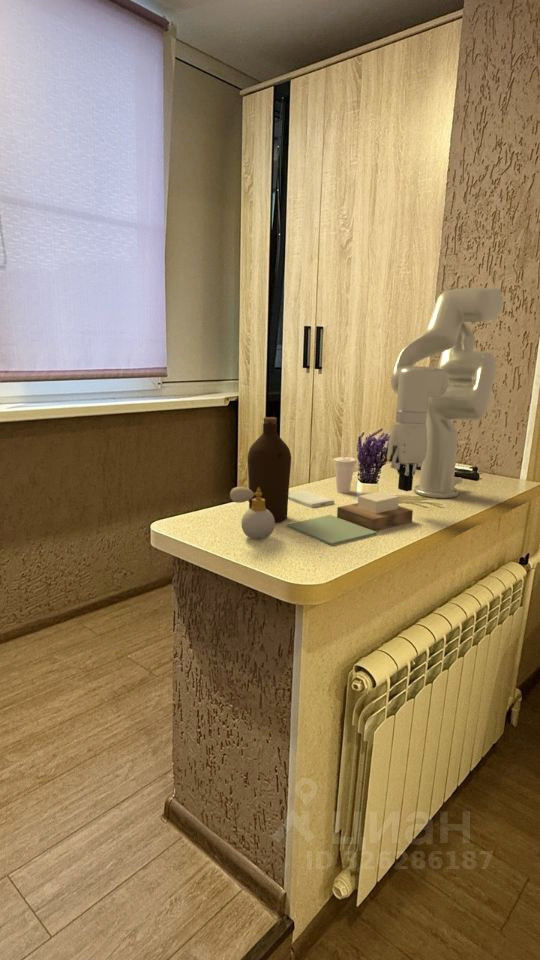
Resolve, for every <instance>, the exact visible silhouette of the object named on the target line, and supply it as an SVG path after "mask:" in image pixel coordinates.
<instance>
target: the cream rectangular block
mask: <svg viewBox="0 0 540 960" xmlns="http://www.w3.org/2000/svg"><path fill="white" fill-rule="evenodd" d="M399 499H400V496H397V495H394V494H390V493H387V492H384V491H377V492H373V493H366V494H361V495H358V498H357V503H358V508H360V509H363V510H366V511H369V512H372V513H375V514H376V513H380V512H385V511H389V510H394V509H398V506H399V503H400V502H399Z"/></svg>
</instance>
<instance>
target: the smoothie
mask: <svg viewBox="0 0 540 960" xmlns="http://www.w3.org/2000/svg"><path fill="white" fill-rule="evenodd" d="M342 448H343V449H342V456H339V457H334V458H333V463H334V469H335V470H334V471H335V472H334V473H335V483H336V492H337V493H340V494H349V493H350V492H351V485H352V480H353V474H354V469H355V464H356V463H357V462H356V460H357V459H356V458H354V457H350V456H349V457H347V456H346V444H343V447H342Z"/></svg>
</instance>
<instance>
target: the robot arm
mask: <svg viewBox="0 0 540 960" xmlns="http://www.w3.org/2000/svg"><path fill="white" fill-rule="evenodd" d="M503 306H504V296H503V294H502V291H501V290H500V289H499V288H497V287H483V288H482V287H479V288H474V287H472V288H471V287H469V288H455V289H450V290H446V291H443V292H442V293H440V295H439V296H438V297H437V299H436V301H435V304H434V307H433V310H432V312H431V313H430V314H431V315H430V318H429V320H428V322H427V326H426V329H425V332H423V333H422V334H420V335H419V336H417V337H416V338H414V339H413V340H412V341H410V342H409V343H408V344H407V345H405V347H404V348H403V349H402V350H401V352H400V353H399V354H398V356H397V359H396V360H395V361H396V362H395V364H394V368H392V369H393V370H392V373H391V376H390V386H391V389H392V391H393V392H394V393H395V394H397V399H396V410H395V412H396V413H395V422H394V423H393V424H392V427H391V431H390V435H389V441H388V446H387V454H386V455H387V457H386V458H387V459H386V460H387V461H388V462H390V468H391V469H394V470H396V471H397V475H399V476H398V483H397V486H398V487H397V488H398V490H401V491H404V492H410V491H412V490H413V492H414V493H416V494H417V495H419V496H422V497H426V498H427V497H429V498H436V499H438V498H439V499H448V498H454V497H457V496H458V495H459V490H458V488H456V487H455V486H456V485H461V484H462V483H463V478H462V477H461V476H460V477H455V473H456V472H455V471H456V462H457V452H458V442H459V441H458V440H459V433H458V430H457V428H456V426H455V424H454V423H453V420H459V421H470V422H472V421H474V422H476V421H480V420H482V419H483V418H484V417H485V415H486V414H487V410H488V407H489V403H490V398H491V395H492V391H493V390H492V389H493V386H494V381H495V377H496V372H497V363H496V358H495V356H494V355H493V353H490V352H488V351H482V350H481V351H478V350H474V348H475V347H474V346H475V343H476V337H475V334H474V332H473V331H472V329H471V328H470V326H468V324H467V323H484V322H485V323H486V322H490V321H493V320H496V319H497V318H498V317H499V316H500V314H501V313H502V310H503ZM438 354H440V356H439V359H438V364H437V367H435V366H419V365H418V366H415V365H416V363H418V362H420V361H422V360H424V359H426V358H429V357H432V356H436V355H438ZM419 467H420V477H419V484H417V485H415V486H414V487H413V481H414V480H413V479H414V476H415V475H416V471H417V469H418V468H419Z"/></svg>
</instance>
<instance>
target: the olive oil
mask: <svg viewBox="0 0 540 960" xmlns="http://www.w3.org/2000/svg"><path fill="white" fill-rule="evenodd" d="M277 422H278V418H277V417H275V416H274V417H273V416H265V417H263V423H262V433H261V435H260V436H259V437H258V438H257V439H256V440H255V441H254V442H253V443H252V444H251V446H250V447H249V450H248V454H247V457H246V458H247V477H248V478H247V481H248V489H250V490H251V491H252V492H254V493H256V492H257V489H258V488H259V489H260V490H261V491H260V492H262V495H261V496H260V497H261V498H263V499H265V507H266V509H267V510H269V511H270V512H271V513H272V515H273V517H274V520H275V524H278V523H281V522H284V521H287V519H288V510H289V509H288V507H289V500H288V494H289V493H290V492H289V491H290V479H291V466H292V454H291V451H290V448H289V446H288V445H287V444H286V442H285V441H284V440H283V439H282V438H281V437H280V436H279V434H278V424H277ZM256 497H257V496H256V495H254V496H253V497H252V498H251V499H250V500H248V501H247V502H248V510H249V509H251V507H252V499H254V498H256Z"/></svg>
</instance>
